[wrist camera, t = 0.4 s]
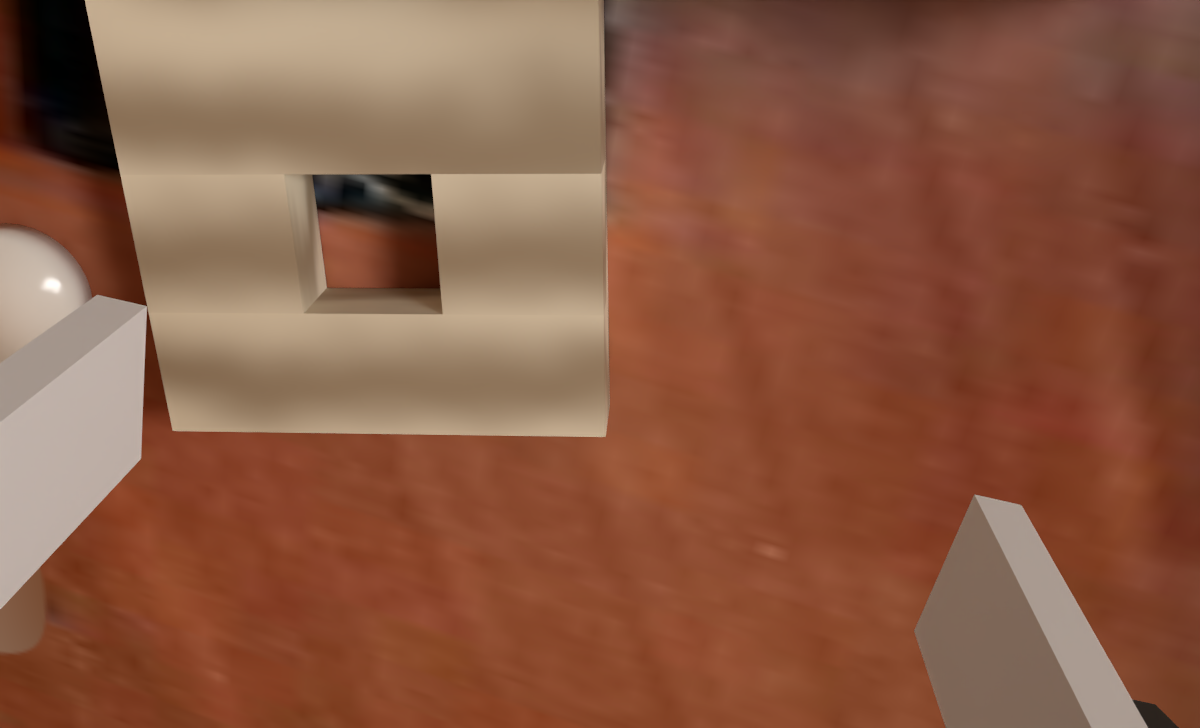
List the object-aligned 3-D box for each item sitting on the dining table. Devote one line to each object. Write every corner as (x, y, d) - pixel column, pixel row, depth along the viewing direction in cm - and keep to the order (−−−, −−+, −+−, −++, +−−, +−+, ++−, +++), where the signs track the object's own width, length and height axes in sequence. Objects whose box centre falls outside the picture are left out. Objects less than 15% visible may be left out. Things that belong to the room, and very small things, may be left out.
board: (59, -358, 35) (6, -381, 32) (598, -378, 34) (591, -403, 31) (202, 399, 46) (172, 430, 43) (609, 404, 45) (605, 437, 42)
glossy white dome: (-60, 222, 44) (-92, 235, 42) (78, 221, 43) (52, 235, 41) (-23, 353, 46) (-52, 371, 44) (108, 354, 46) (84, 373, 44)
